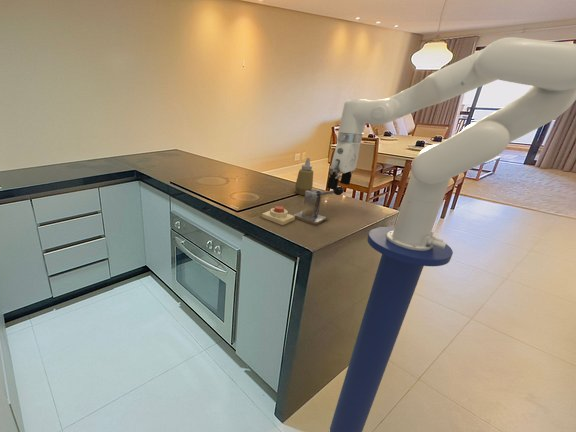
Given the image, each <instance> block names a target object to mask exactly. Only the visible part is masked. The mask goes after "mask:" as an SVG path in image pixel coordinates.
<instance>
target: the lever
mask: <svg viewBox="0 0 576 432" xmlns="http://www.w3.org/2000/svg"><path fill="white" fill-rule="evenodd" d="M315 193H317V198H318V197H319V196H321V195H322V196H325V195H330V194H334V195H336V196H341V195H342V194H344V188H343V186H339V185H337V189H336V190H333V189H331V190H327V191H323V192H321V193H318V191H316V192H315Z"/></svg>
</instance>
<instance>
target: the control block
mask: <svg viewBox="0 0 576 432" xmlns="http://www.w3.org/2000/svg"><path fill="white" fill-rule="evenodd" d="M274 209H275V207H272V208H270V210H268V211H265V212H262V213H261V218H262V219H265V220H268V221H270V222H272V223H276V224H277V225H280V226H284V225H287V224H289V223H292V222H293V221H295V219H296V218H295V216H293V215H294V214H290V213H288V210H287V209H286V208H284V212H283V213H278V212H274Z"/></svg>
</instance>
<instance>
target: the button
mask: <svg viewBox="0 0 576 432" xmlns="http://www.w3.org/2000/svg"><path fill="white" fill-rule="evenodd" d="M274 208H275V209H274V212H278V213H283V212H284V209H285V207H284V206H281V205H276V206H274Z"/></svg>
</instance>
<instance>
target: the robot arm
mask: <svg viewBox="0 0 576 432" xmlns="http://www.w3.org/2000/svg"><path fill="white" fill-rule="evenodd" d="M498 80H499V81H503V82H508V83H515V84H518V85H519V84H520V85H526V86H530V88H529V90H528V91H527V92H525V93H524V94H523V95H522V96H520V97H519V98H517V99H515V100H514V101H512V102H510V103H508V104H507V105H505V106H503V107H502V108H500V109H497V110H496V111H494V112H492V113H489V114H488V115H487V116H485V117H483V118H481V119H479V120H476V121H474V122H471V123H470V124H468V125H466V126H465V127H464V128H463V129H462V130H461V131H459V132H458V133H456V134H453V135H452V136H450V137H448V138H447V139H445V140H443V141H441V142H439V143H436V144H431V145H427V146H426V147H424V148H423V149H421V150H419V152H418V153H417V154H416V156H415V157H414V159H413V160H412V162H411V165H410V171H411V173H410V177H409V180H408V183H407V186H406V189H405V193H404V195H403V198H402V202H401V205H400V208H399V212H398V214H397V218H396V222H395V225H394V227H395V228H394V231H390V232H388V233H387V235H386V238H387V239H388V240H389V241H390V242H391V243H393V244H395V245H397V246H400V247H403V248H406V249H410V250H417V251H426V250H430V249H431V248H432V246H433V245H434V246H437V247H439V248H442V249H444V248H445V246H446V244H447V242H444V239H441V238H437V237H435V236H434V231H432V230H433V229H434V226H435V222H436V220H437V217H438V215H439V212H440V208H441V206H442V203H443V201H444V198H445V195H446V193H447V191H448V187H449V186H450V185H449V184H450V181H451V180H452V178H455V177H457V176H459V175H461V174H463V173H465V172H467V171H470V170H472V169H474V168H477V167H478V166H481V165H483V164H485V163H487V162H489V161H491V160H493V159H494V158H496V157H498V156H499V155H500V154H502V153H503V152H504V151H505V150H506V149H507V147H508V145H509V144H510V143H511V142H514V141H515V140H517V139H519V138H522V137H524V136H526V135H528V134H530V133H531V132H533V131H536V130H537V129H539V128H541V127H543V126H545V125H547V124H548V123H551V122H552V121H554V120H555V119H557V118H559V117H560V116H562V115H563V114H564V113H565V112H567V110H569V109H570V108H571V106H572V105H573V104H574V103H575V102H576V43H571V42H561V41H554V40H553V41H552V40H542V39H533V38H526V37H517V36H515V37H514V36H508V37H502V38H499V39H496V40H494V41H493V42H490V43H489V44H488V45H486V46H485V47H484V48H482V49H480V50H478V51H476V52H474V53H472V54H470V55H468V56H466V57H463V58H462V59H460V60H458V61H456V62H453V63H451V64H449V65H446V66H445V67H443V68H440V69H438V70H436V71H434V72H432V73H431V74H429V75H427V76H426V77H424V78H423V79H422V80H421V81H419V82H417V83H416V84H414V85H412V86H410V87H408V88H406V89H404V90H402V91H400V92H398V93H396V94H394V95H391V96H389V97H387V98H382V99H374V100H369V99H365V98H348V99H347V100H345V102H344V105H343V108H342V113H341V116H340V117H341V118H340V122H339V127H338V132H337V135H336V136H337V137H336V146H335V149H334V152H333V156H332V159H331V165H330V166H329V168H328V170H329V172H328V181H327V185H326V188H327V189H330V190H336V189H337V187H338V186H339V182H340V184H343V185H348V186H349V185H350V183H351V179H352V174H353V173H354V170H356V169H357V164H358V161H359V160H358V159H359V154H360V149H361V144H362V139H363V136H364V131H365V128H366V124H367V125H373V126H383V125H387V124H389V123H391V122H393V121H396V120H398V119H400V118H403V117H405V116H408V115H411V114H413V113H415V112H418V111H421V110H423V109H426V108H428V107H431V106H436V105H439V104H441V103H444V102H447V101H449V100H451V99H453V98H454V99H455V98H456V97H458V96H462V95H463V94H466V93H468V92H470V91H473V90H475V89H478V88H480V87H483V86H485V85H488V84H491V83H493V82H496V81H498ZM340 175H341V177H340ZM339 177H340V179H339ZM434 237H435V238H434Z"/></svg>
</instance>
